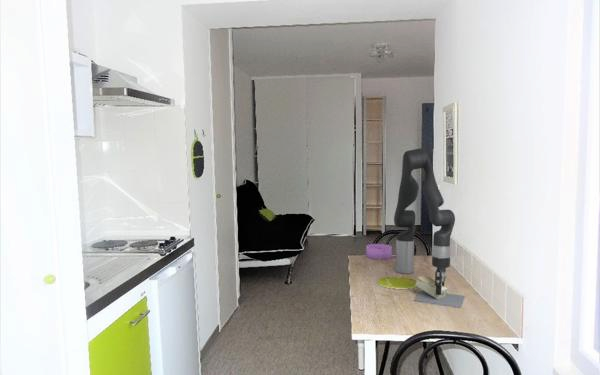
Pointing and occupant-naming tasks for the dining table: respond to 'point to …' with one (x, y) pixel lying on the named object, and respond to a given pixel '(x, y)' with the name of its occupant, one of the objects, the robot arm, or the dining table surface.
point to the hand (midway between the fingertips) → (440, 291)
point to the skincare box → (430, 286)
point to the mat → (441, 299)
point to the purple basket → (379, 251)
